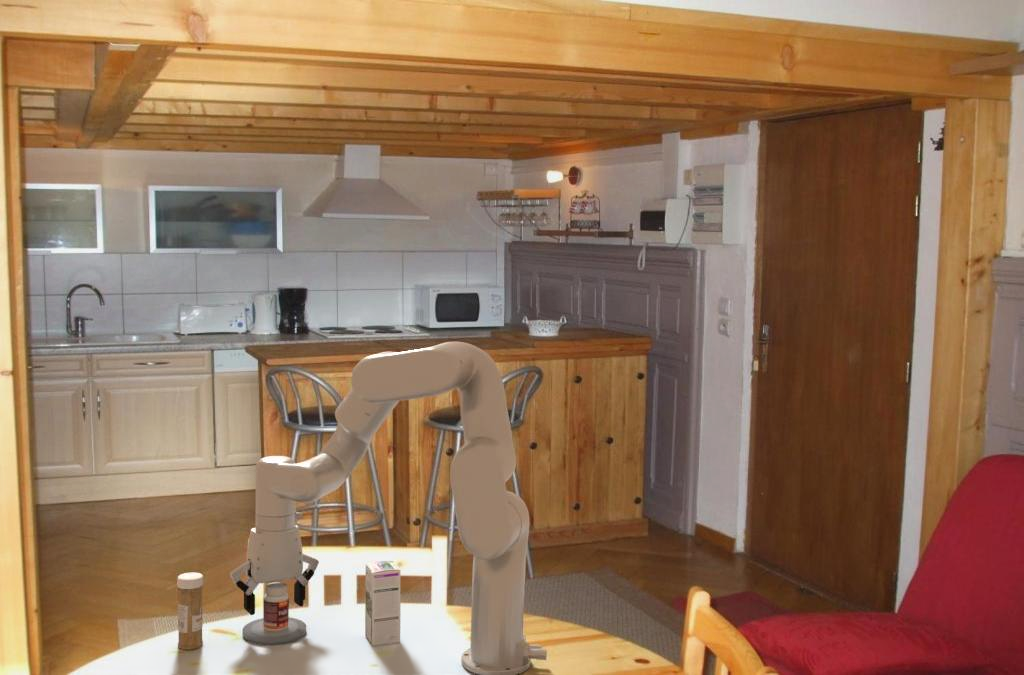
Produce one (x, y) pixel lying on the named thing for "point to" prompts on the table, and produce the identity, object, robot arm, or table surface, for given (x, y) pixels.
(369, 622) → the syrup box
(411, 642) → the table surface
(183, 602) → the sprinkles bottle
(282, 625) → the pill bottle
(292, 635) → the dish
